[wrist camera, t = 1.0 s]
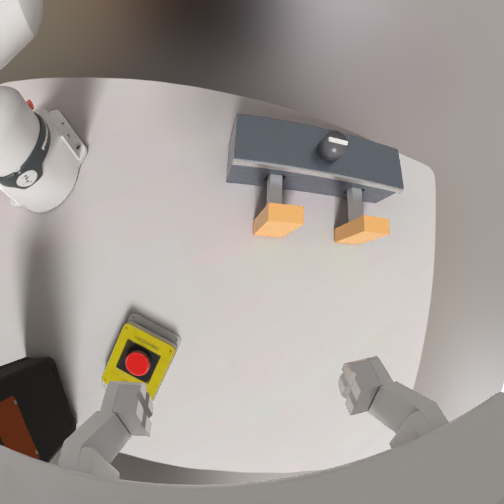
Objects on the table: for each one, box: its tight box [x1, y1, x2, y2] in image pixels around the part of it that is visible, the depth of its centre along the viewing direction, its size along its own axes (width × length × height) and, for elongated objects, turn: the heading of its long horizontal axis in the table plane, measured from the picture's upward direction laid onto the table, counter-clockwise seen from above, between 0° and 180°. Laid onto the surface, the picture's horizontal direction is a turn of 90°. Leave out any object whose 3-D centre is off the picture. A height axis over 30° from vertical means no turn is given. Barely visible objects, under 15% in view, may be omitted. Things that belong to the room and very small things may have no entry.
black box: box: [0, 357, 76, 463], centre depth 25 cm, size 16×9×25 cm, turn 12°
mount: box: [226, 114, 404, 203], centre depth 47 cm, size 8×30×10 cm, turn 88°
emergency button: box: [102, 313, 181, 402], centre depth 40 cm, size 9×4×15 cm
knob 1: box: [253, 174, 304, 237], centre depth 44 cm, size 14×5×10 cm, turn 178°
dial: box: [318, 131, 349, 161], centre depth 41 cm, size 4×4×3 cm
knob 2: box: [335, 187, 390, 244], centre depth 47 cm, size 14×5×10 cm, turn 178°
